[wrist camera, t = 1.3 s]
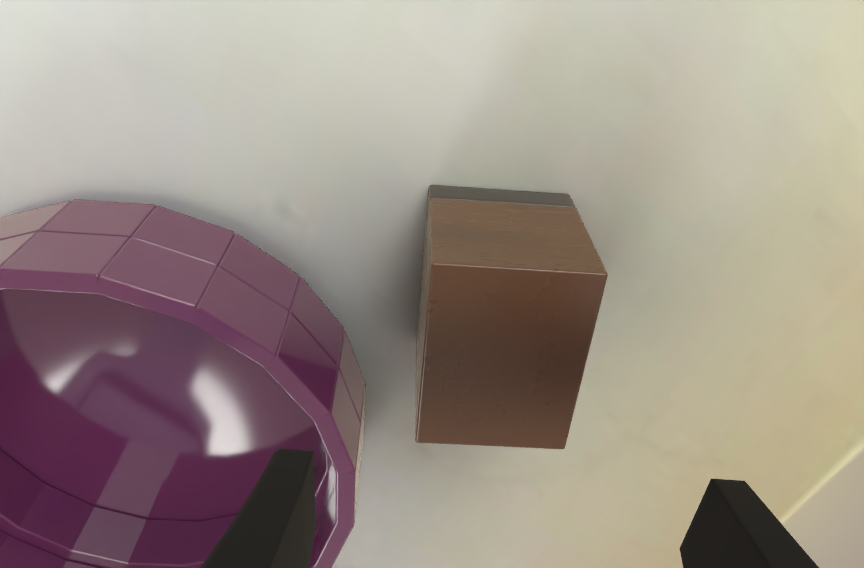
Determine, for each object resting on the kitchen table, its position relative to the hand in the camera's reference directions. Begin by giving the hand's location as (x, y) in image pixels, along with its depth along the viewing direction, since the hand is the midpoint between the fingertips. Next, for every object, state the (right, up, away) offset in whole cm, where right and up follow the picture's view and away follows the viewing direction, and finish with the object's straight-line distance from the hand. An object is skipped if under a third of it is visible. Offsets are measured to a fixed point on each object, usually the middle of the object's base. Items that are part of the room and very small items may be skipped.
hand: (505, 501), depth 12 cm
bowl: (-11, 0, +12) cm, 17 cm away
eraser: (+1, +4, +10) cm, 11 cm away
